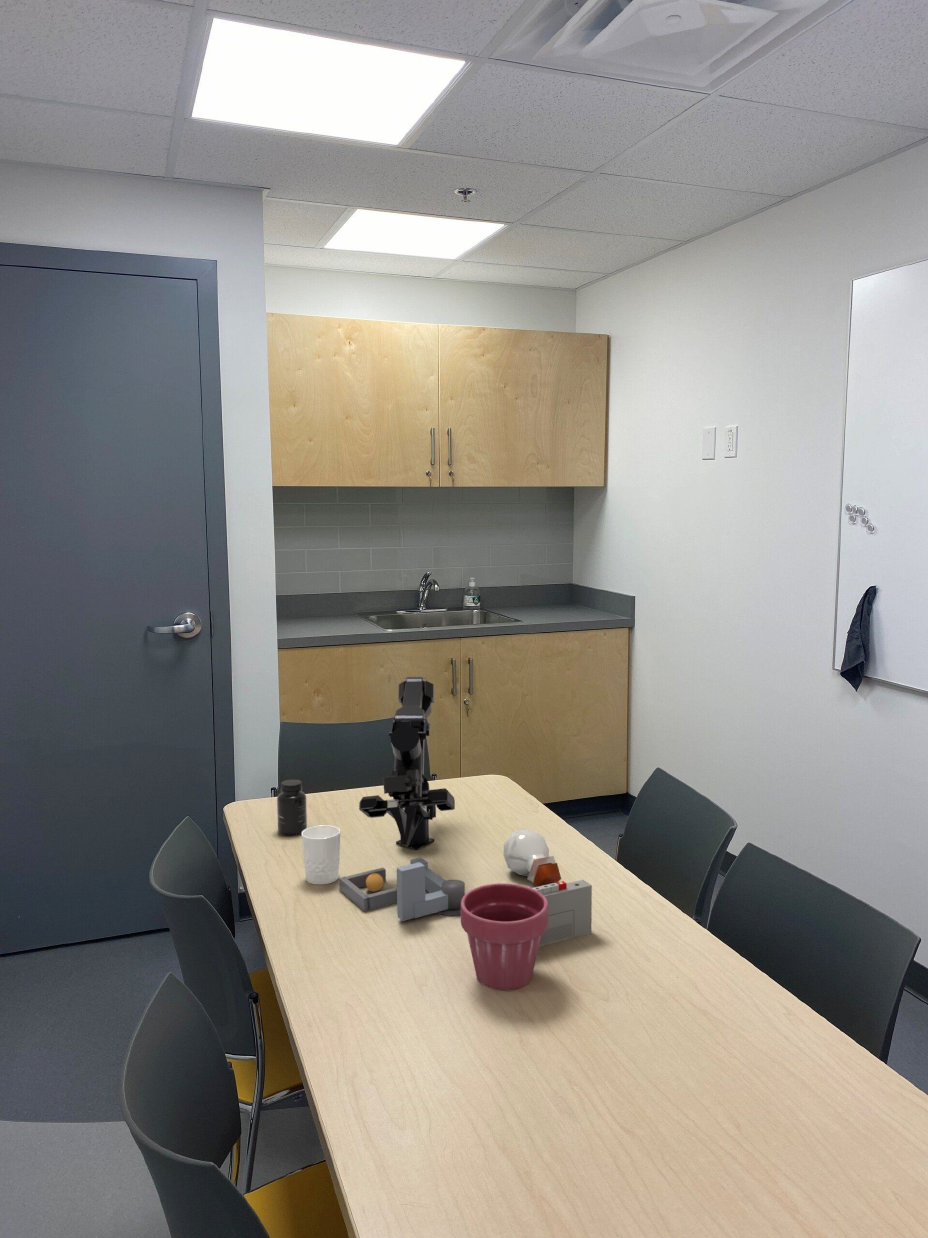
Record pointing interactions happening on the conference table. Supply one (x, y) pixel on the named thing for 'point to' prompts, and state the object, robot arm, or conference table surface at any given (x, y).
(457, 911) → the pivot plate
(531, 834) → the potion bottle
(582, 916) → the cassette player
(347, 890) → the pocket
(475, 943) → the plant pot
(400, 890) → the lever
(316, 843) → the white cup
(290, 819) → the supplement bottle
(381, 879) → the ball
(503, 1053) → the conference table surface
